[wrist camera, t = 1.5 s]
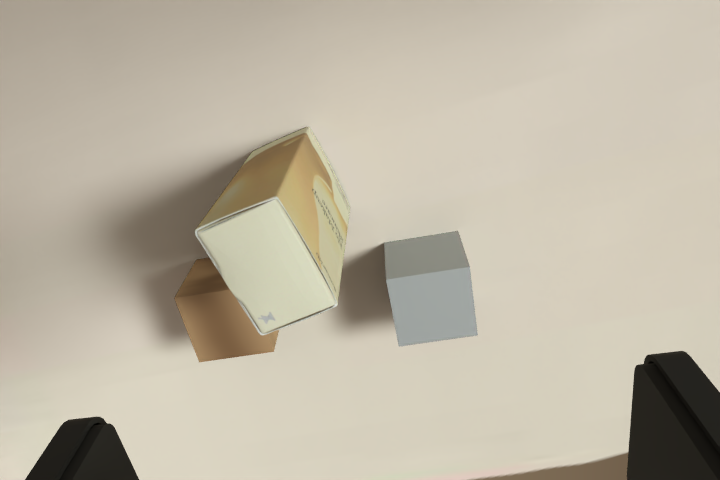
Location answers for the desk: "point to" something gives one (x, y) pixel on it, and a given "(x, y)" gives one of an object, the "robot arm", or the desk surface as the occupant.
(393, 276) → the slate grey block
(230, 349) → the walnut block
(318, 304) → the skincare box
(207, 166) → the desk surface
